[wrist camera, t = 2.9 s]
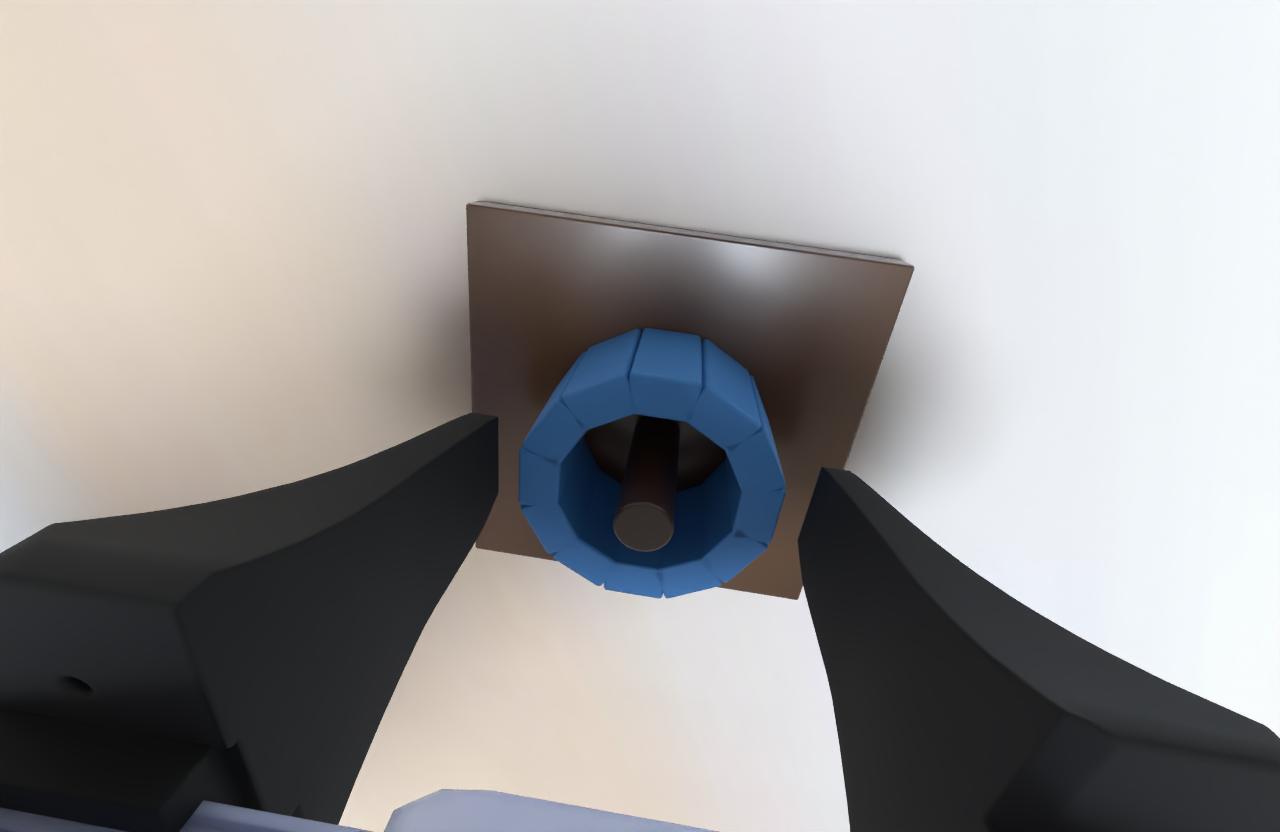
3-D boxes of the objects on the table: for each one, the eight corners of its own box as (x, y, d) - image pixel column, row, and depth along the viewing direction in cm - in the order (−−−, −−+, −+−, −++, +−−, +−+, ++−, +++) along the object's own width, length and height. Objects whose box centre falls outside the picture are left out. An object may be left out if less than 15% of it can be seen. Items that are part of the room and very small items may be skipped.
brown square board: (484, 531, 17) (412, 659, 13) (478, 200, 12) (363, 223, 8) (793, 581, 17) (827, 729, 12) (903, 260, 12) (1017, 316, 8)
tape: (548, 501, 15) (516, 576, 12) (557, 313, 13) (519, 355, 10) (740, 532, 15) (750, 614, 12) (789, 347, 12) (815, 399, 10)
